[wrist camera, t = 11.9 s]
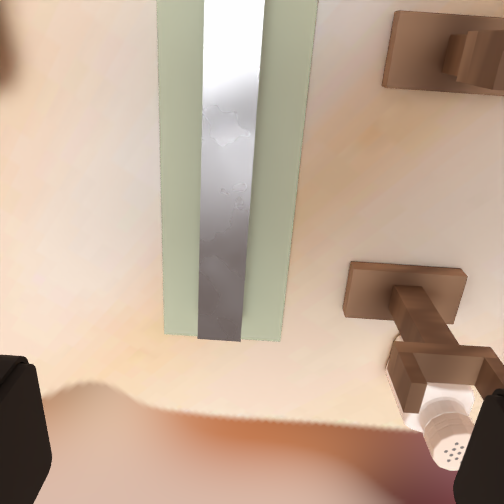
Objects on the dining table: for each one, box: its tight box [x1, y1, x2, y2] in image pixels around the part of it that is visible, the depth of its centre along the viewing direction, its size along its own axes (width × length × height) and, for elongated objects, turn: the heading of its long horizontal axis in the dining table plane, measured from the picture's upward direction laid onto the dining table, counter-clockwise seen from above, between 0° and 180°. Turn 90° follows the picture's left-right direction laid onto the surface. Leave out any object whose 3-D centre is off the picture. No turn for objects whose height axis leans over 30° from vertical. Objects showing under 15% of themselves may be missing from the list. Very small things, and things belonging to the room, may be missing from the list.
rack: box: [343, 11, 504, 414], centre depth 25 cm, size 8×20×12 cm, turn 176°
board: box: [157, 0, 318, 342], centre depth 30 cm, size 9×26×1 cm, turn 176°
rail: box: [197, 0, 265, 342], centre depth 28 cm, size 22×3×3 cm, turn 176°
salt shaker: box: [385, 335, 475, 471], centre depth 32 cm, size 4×4×10 cm
